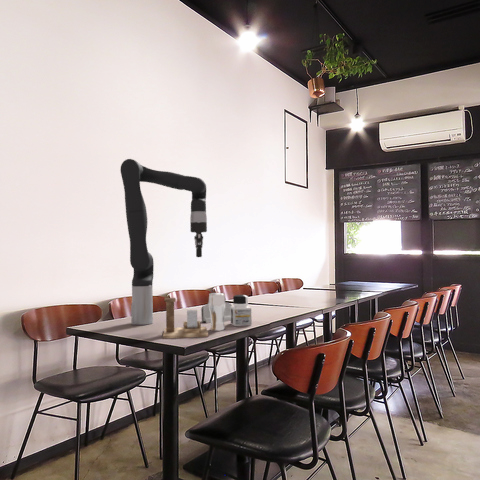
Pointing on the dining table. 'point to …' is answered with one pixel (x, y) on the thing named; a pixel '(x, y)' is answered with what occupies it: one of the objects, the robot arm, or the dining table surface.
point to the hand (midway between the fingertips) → (198, 257)
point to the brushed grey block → (191, 319)
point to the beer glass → (217, 311)
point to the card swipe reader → (207, 318)
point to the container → (240, 311)
